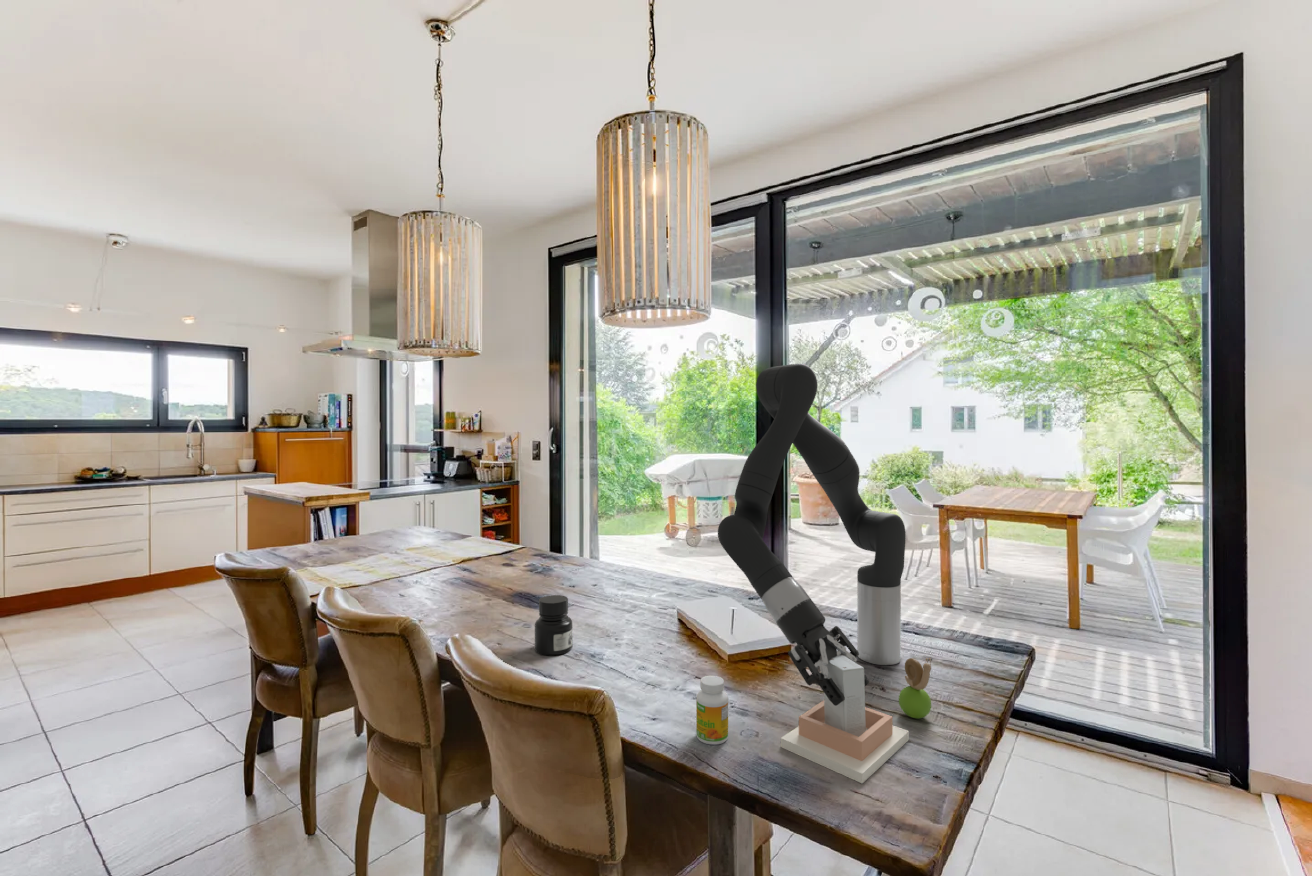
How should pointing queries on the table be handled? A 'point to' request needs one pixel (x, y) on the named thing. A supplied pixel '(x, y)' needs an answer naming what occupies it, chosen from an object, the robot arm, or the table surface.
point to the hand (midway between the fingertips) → (853, 694)
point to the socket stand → (846, 743)
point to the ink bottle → (553, 626)
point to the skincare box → (847, 696)
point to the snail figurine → (916, 689)
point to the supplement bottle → (712, 711)
